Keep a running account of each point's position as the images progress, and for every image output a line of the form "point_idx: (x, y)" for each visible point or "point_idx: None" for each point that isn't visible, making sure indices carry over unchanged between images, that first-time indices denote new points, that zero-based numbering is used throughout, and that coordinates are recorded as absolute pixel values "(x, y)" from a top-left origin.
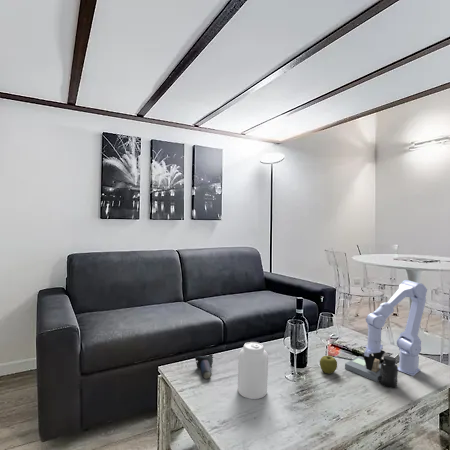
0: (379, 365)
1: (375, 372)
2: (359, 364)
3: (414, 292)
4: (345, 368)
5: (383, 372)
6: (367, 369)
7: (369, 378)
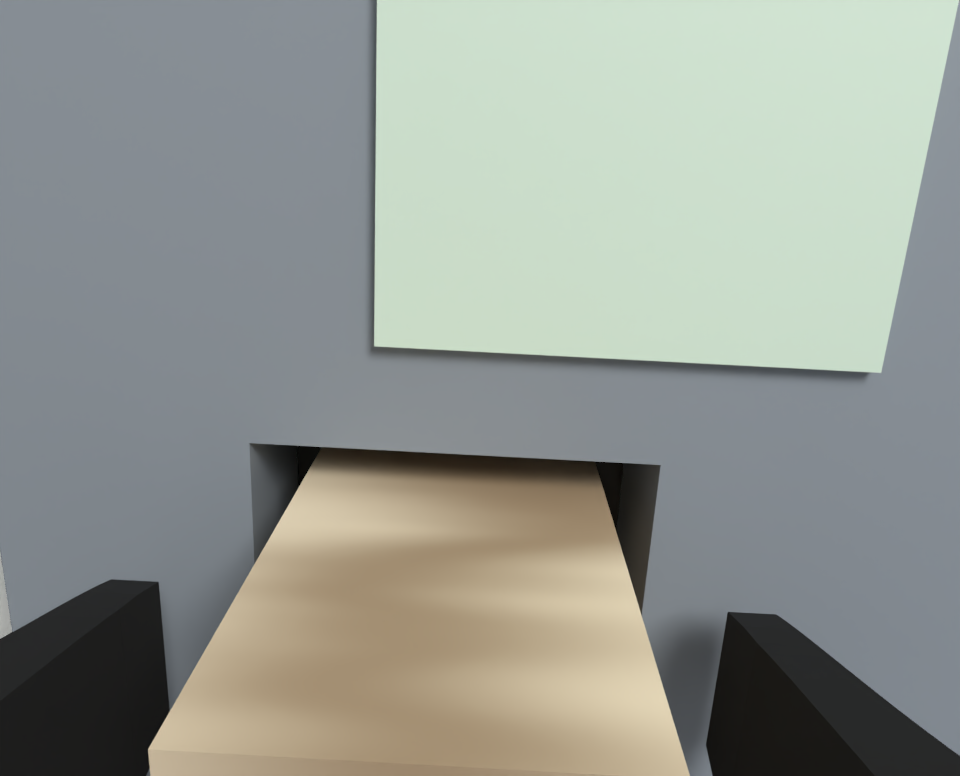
0: (884, 674)
1: None
2: (372, 153)
3: None
4: None
5: None
6: (235, 535)
7: None
